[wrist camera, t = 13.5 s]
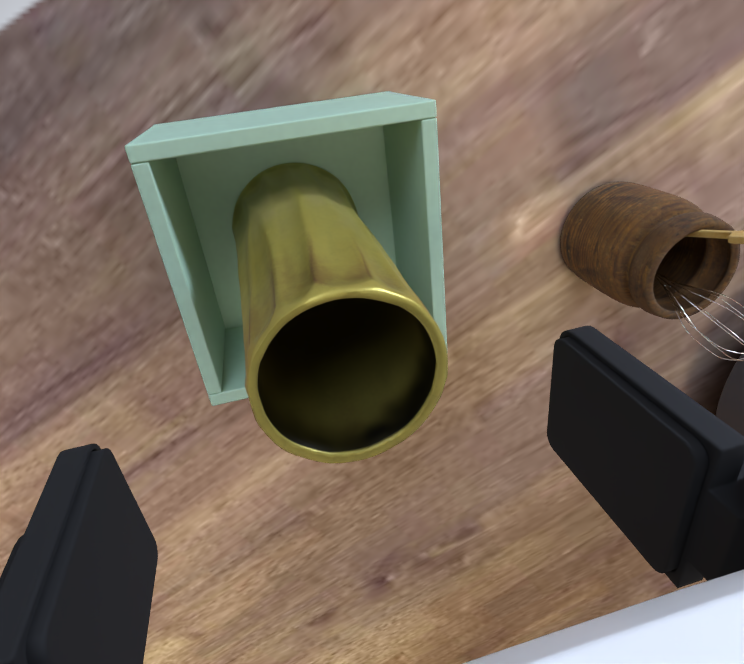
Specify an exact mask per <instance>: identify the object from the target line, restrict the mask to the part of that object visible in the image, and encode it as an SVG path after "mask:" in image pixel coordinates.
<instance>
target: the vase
mask: <svg viewBox="0 0 744 664" xmlns="http://www.w3.org/2000/svg"><path fill="white" fill-rule="evenodd" d="M232 230H233V235H234V239H235V242H236V251H237V259H238V275H239V285H240V296H241V310H242V323H243V339H244V349H245V370H246V376H245V389H246V391H247V395H248V398H249V401H250V404H251V408H252V411H253V414H254V417H255V420H256V421H257V423H258V425H259V426H260V428H261V429H262V430H263V431H264V432H265V434H266V435H267V436H268V437H269V438H270V439H271V440H272V441H273V442H274V443H275V444H276V445H278V446H279V447H280V448H281V449H283V450H285V451H287V452H289V453H291V454H294V455H296V456H300V457H303V458H307V459H310V460H314V461H317V462H324V463H346V462H354V461H359V460H363V459H367V458H370V457H373V456H376V455H378V454H381V453H383V452H385V451H387V450H388V449H390V448H392V447H394V446H395V445H397V444H399V443H401V442H402V441H404V440H405V439H406V438H408V437H409V436H410V435H412V434H413V433H414V432H415V431H416V430H417V429H418V428H419V427H420V426H421V425H422V424H423V423H424V421H425V420H426V419H427V418H428V416H429V415H430V413H431V412H432V410H433V409H434V407H435V406H436V404H437V402H438V400H439V399H440V397H441V395H442V391H443V388H444V385H445V382H446V378H447V373H448V359H447V347H446V344H445V340H444V337H443V335H442V333H441V330H440V328H439V326H438V325H437V323H436V322H435V321H434V319H433V317H432V316H431V314H430V313H429V311H428V310H427V308H426V307H425V306H424V304H423V303H422V301H421V300H420V299H419V298H418V296H417V295H416V294H415V293H414V291H413V290H412V289H411V288H410V286H409V285H408V284H407V282H406V281H405V279H404V278H403V277H402V275H401V273H400V272H399V270H398V269H397V267H396V266H395V264H394V263H393V261H392V260H391V259H390V257H389V256H388V254H387V253H386V252H385V250H384V249H383V247H382V246H381V244H380V243H379V242H378V240H377V239H376V238H375V236H374V235H373V234H372V232H371V231H370V230H369V228H368V227H367V226H366V225H365V224H364V223H363V222H362V220H361V219H360V218H359V216H358V213H357V210H356V207H355V204H354V201H353V199H352V197H351V195H350V194H349V192H348V190H347V189H346V188H345V186H344V185H343V184H342V182H341V181H340V180H339V179H338V178H336V177H335V176H334V175H332V174H331V173H329V172H328V171H326V170H324V169H322V168H319V167H317V166H314V165H311V164H306V163H285V164H279V165H276V166H273V167H270V168H268V169H266V170H264V171H262V172H261V173H259V174H258V175H257V176H255V177H254V178H253V179H252V180H251V181H250V182H249V183H248V184H247V185H246V187H245V188H244V189H243V191H242V192H241V194H240V196H239V198H238V200H237V202H236V205H235V208H234V213H233V221H232Z"/></svg>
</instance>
